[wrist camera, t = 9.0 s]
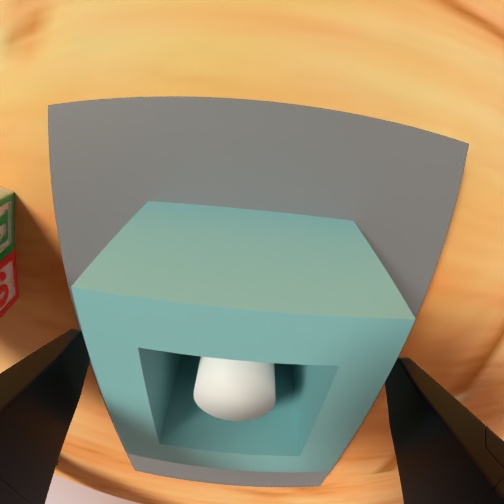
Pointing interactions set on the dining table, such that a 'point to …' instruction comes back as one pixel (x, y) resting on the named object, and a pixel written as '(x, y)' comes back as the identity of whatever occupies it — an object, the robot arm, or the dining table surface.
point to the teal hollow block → (240, 332)
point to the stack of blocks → (7, 251)
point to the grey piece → (250, 205)
